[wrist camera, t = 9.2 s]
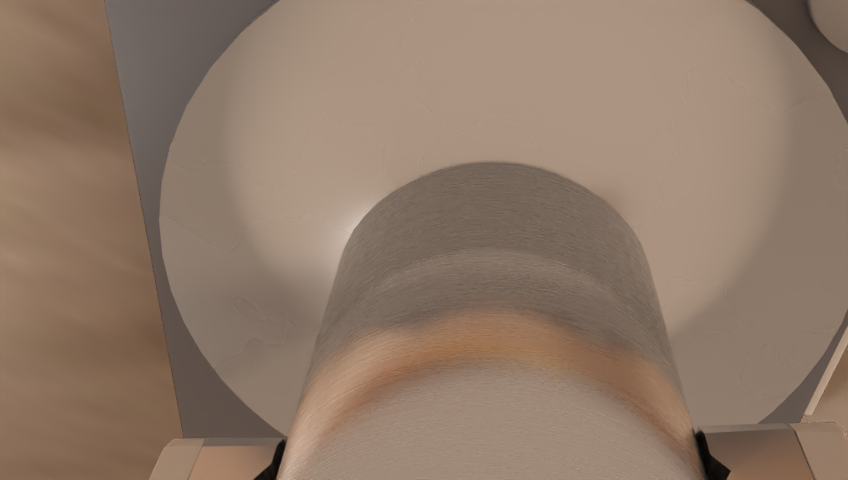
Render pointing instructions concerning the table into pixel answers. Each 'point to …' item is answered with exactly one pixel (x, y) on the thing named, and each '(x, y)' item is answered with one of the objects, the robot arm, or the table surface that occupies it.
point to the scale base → (185, 70)
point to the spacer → (492, 343)
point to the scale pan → (520, 146)
